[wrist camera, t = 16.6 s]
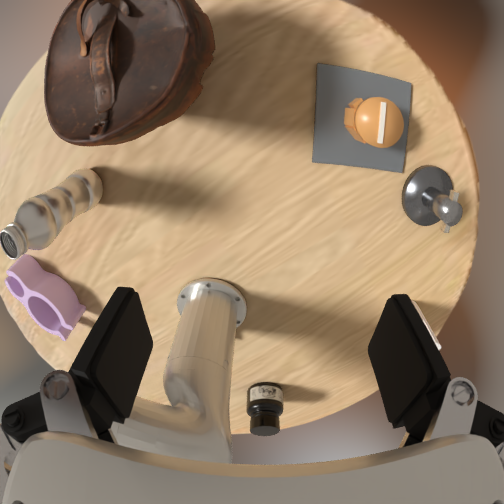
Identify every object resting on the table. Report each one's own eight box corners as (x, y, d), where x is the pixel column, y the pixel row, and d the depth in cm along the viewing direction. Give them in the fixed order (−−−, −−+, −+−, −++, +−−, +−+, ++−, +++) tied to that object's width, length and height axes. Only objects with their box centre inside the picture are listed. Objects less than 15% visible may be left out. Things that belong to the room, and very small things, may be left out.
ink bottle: (289, 384, 62) (291, 426, 52) (277, 400, 66) (278, 438, 56) (251, 378, 61) (249, 422, 51) (242, 395, 65) (239, 434, 55)
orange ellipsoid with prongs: (384, 144, 33) (401, 152, 29) (342, 138, 33) (355, 144, 29) (388, 102, 30) (406, 103, 25) (345, 93, 30) (359, 92, 25)
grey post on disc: (441, 224, 40) (465, 247, 33) (396, 220, 40) (418, 244, 33) (453, 170, 34) (483, 186, 28) (407, 160, 35) (435, 174, 28)
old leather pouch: (166, -14, 22) (108, -64, 7) (258, 70, 30) (254, 42, 14) (83, 71, 29) (-3, 76, 13) (161, 154, 36) (95, 198, 21)
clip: (18, 273, 48) (3, 289, 42) (27, 242, 44) (8, 259, 38) (74, 325, 55) (62, 345, 49) (90, 302, 51) (76, 324, 45)
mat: (400, 171, 36) (402, 173, 35) (312, 161, 36) (312, 162, 35) (409, 83, 29) (411, 83, 28) (317, 63, 29) (318, 63, 28)
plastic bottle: (95, 157, 36) (4, 206, 18) (114, 193, 39) (35, 261, 21) (70, 177, 37) (-14, 231, 20) (88, 210, 40) (14, 277, 23)
